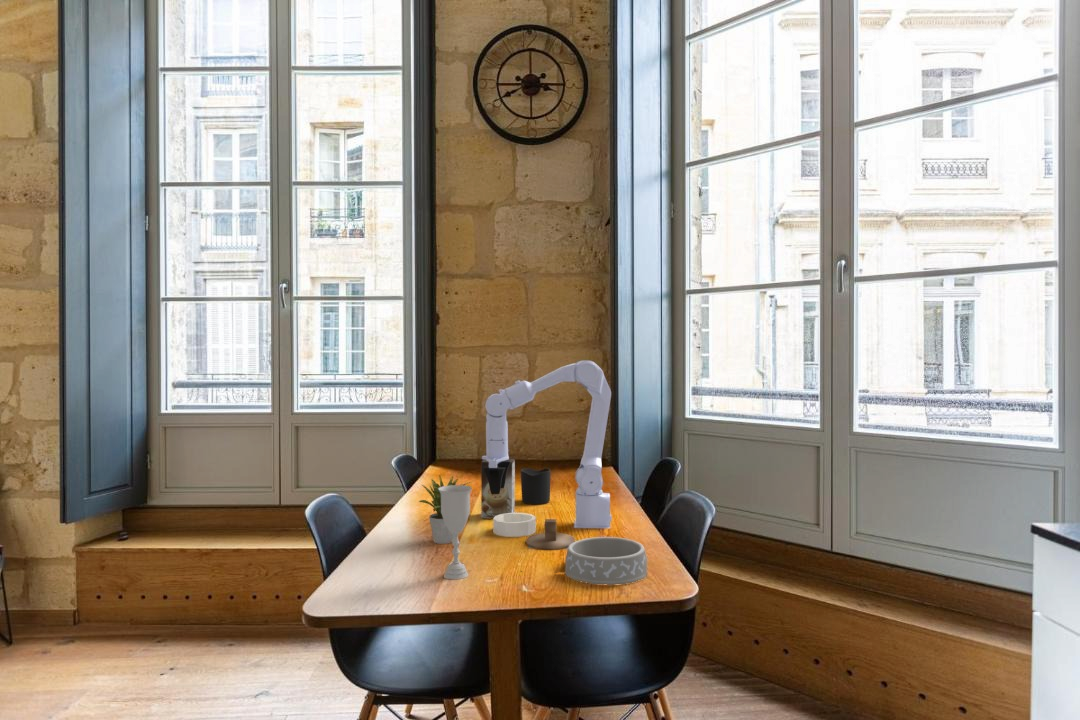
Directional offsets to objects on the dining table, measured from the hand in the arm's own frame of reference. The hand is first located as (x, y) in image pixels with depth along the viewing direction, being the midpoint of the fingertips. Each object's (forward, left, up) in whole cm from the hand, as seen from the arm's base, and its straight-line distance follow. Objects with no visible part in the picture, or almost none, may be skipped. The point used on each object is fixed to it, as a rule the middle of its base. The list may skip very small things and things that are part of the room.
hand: (497, 491), depth 172 cm
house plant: (+11, +13, -10) cm, 20 cm away
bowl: (-5, +4, -10) cm, 12 cm away
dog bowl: (-28, +32, -11) cm, 44 cm away
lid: (-15, +14, -9) cm, 23 cm away
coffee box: (+2, -14, -10) cm, 17 cm away
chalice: (+3, +37, -10) cm, 39 cm away
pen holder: (-7, -33, -10) cm, 35 cm away
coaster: (-15, +14, -10) cm, 23 cm away
